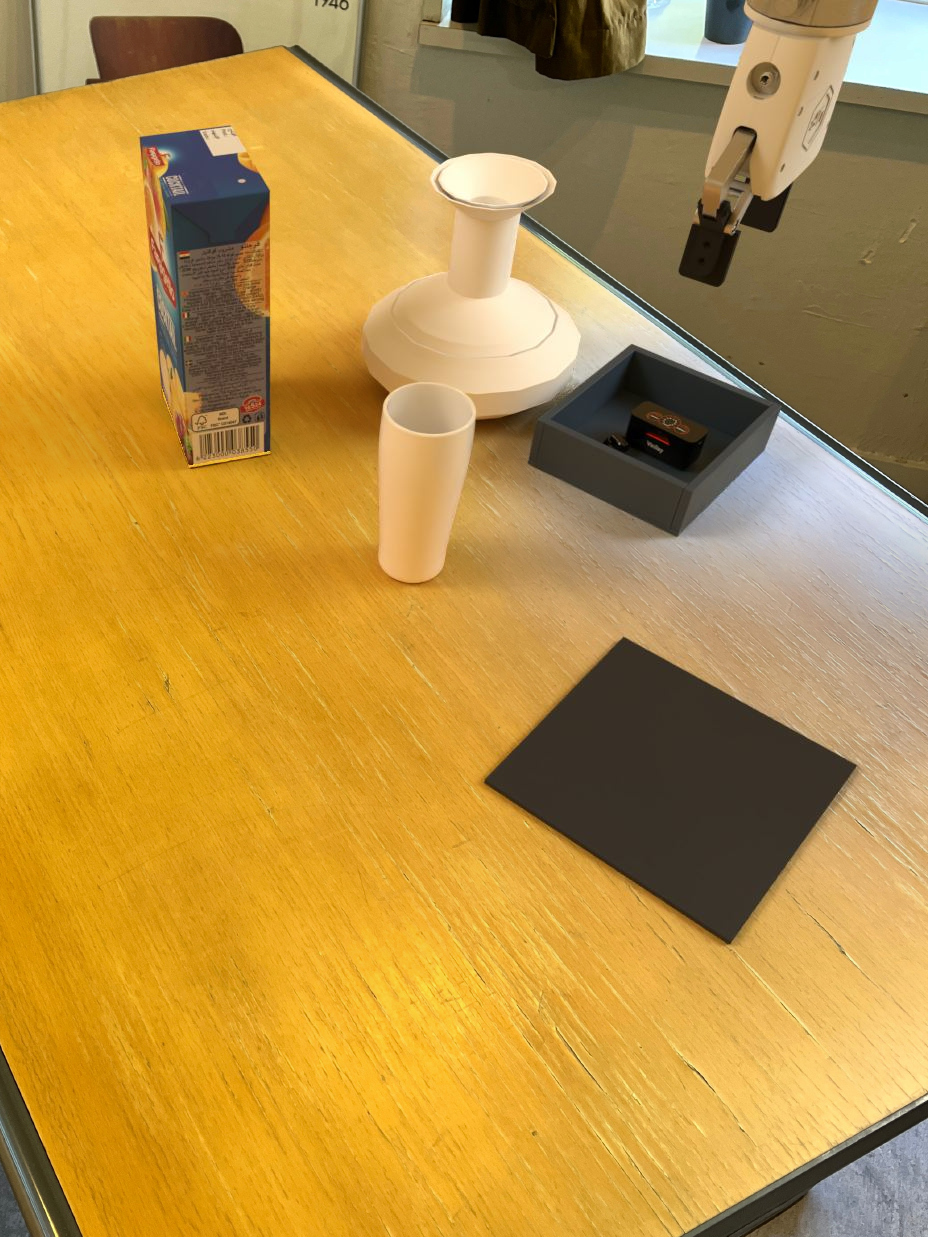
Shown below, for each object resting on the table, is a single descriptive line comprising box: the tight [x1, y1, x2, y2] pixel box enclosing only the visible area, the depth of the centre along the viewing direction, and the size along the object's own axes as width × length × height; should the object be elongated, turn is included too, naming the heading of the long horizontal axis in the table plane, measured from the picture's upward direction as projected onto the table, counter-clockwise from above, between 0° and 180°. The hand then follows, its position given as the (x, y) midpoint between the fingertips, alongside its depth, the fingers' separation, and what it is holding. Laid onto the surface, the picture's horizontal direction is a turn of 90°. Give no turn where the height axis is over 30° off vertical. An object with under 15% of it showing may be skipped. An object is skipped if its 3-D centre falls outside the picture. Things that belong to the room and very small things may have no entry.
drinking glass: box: [377, 382, 477, 584], centre depth 85 cm, size 7×7×15 cm
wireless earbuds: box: [603, 402, 708, 470], centre depth 98 cm, size 5×7×3 cm, turn 45°
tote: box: [527, 343, 783, 538], centre depth 98 cm, size 15×16×5 cm
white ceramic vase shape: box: [361, 152, 582, 421], centre depth 101 cm, size 20×20×19 cm
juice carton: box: [138, 124, 272, 465], centre depth 95 cm, size 12×8×24 cm, turn 15°
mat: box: [483, 636, 858, 945], centre depth 77 cm, size 18×18×1 cm
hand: (727, 252), depth 82 cm, fingers open, 9 cm apart
